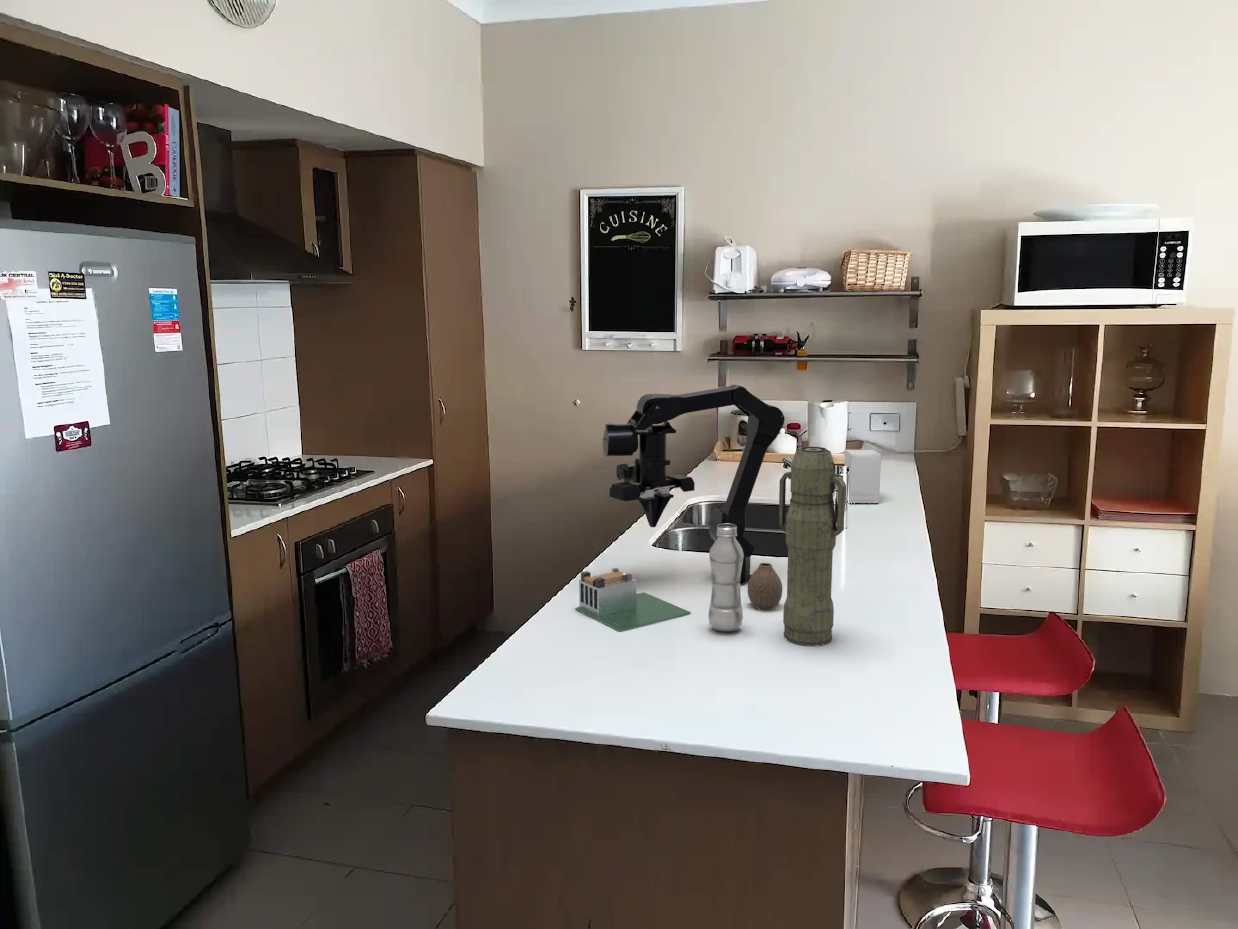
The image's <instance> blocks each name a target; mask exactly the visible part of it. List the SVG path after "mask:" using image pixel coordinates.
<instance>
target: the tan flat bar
mask: <svg viewBox="0 0 1238 929" xmlns="http://www.w3.org/2000/svg"><path fill="white" fill-rule="evenodd" d="M626 574H627V573H625V572H622V571H620V570H619V571H616V572H608V573H604V574H599V575H594V576H591V577H589V576H586V577H584V579H585V583H587V584H589V585H591V586H595V578H600V577H602V578H604V579H605V583H609V582H614V581H618V580H622V579H626Z"/></svg>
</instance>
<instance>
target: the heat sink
mask: <svg viewBox="0 0 1238 929" xmlns="http://www.w3.org/2000/svg"><path fill="white" fill-rule="evenodd" d="M619 569H620V568H618V567H614V568H612V572H616V571H620V570H619ZM612 572H611V573H612ZM625 574H626V579H622V580H618V581H614V582H609V583H605V579H604V578H602V577H600V578H595V586H591V585H589V584H587V583H585V579H584V577H586V576H589V577H592V576H591V572H590V571H587V570H586V571H581V572H580V579H578V590H579V592H578V595H579V596H578V599H579V602H578V603H579V606H578V607H575V611H577V612H579V613H581V614H583V615H584V616H587V617H589V618H591V619H593V620H595V619H596V620H595V621H597V620H598V621H597V622H599V623H601V624H603V625H605V626H606V627H609V626H610V627H609V628H611V629H612V630H615V631H616V632H619V633H622V632H625V631H629V630H634V629H637V628H640V627H641V628H642V627H645V626H649V625H652V624H656V623H661V622H665V621H668V620H672V619H676V618H681V617H684V616H689V615H691V613H692V612H691V611H689V610H686V609H685V608H681V607H679V606H678V605H675V604H673V603H670V602H668V601H665V600H663V599H661V598H659V597H656V596H654V595H651V594H649V593H647V592H644V591H643V592H639V593H637V579H634V578H633V573H630V572H629V573H625Z"/></svg>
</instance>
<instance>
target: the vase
mask: <svg viewBox="0 0 1238 929" xmlns="http://www.w3.org/2000/svg"><path fill="white" fill-rule="evenodd" d="M751 575H752V576H751V577H750V579H749V580H748V581H747V582H748V583H747V596H748V599H749V602H751V604H752V605H753V607H754V608H756V607H757V608H756V609H759V608H760V610H772V608H773V609H774V608H776V607H777V606H778V604H780V602H781V599H782V596H783V584H782V583H783V582H782V580H781V577H780V576H779V575H778V573H777V572H776V571H775V569H774V567H773V565H772V564H771V563H769V562H761V563H759V565H758V567H757V568H756V569H755V570H754V572H753V573H752V574H751Z"/></svg>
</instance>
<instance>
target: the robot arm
mask: <svg viewBox="0 0 1238 929" xmlns="http://www.w3.org/2000/svg"><path fill="white" fill-rule="evenodd" d="M729 406H730V407H731V406H734V407H736V408H737V409H738V410H739V411H740V412H741V413H742V414H744V415H745V416H746V417H747V422H746V430H745V431H746V443H745V445H744V448H743V451H742V455H741V457H740V460H739V463H738V466H737V469H736V472H735V475H734V477H733V479H732V480H733V481H732V482H731V483H732V484H731V486H730V488H729V492H728V495H727V497H726V501H725V502H724V504H723V505H722V507H721V508H720V509H718V508H717V507H714V508H713V509H712V514H711V518H710V520H709V521H708V523H707V525H708V526H709V529H708V534H709V535H710V538H711V539H712V540H713V541H714V542H715V541H716V540H717V539H718V536H717V535H716V533H717V525H719V524H734V525H736V527H737V536H736V537H735V538H736V540H737V541H738V543H739V544H740V546H741V548H742V550H743V554H744V556H743V564H742V570H741V581H740V585H745V584H746V583H747V582H749V579H750V577H751V576H752V574H751V557H752V554H753V553H754V549H755V547H754V546H753V545H752V544H751V542H749V541H748V540H747V539H746V538H745V531H746V527H747V525H746V522H747V521H746V517H747V516H746V510H747V507H748V504H749V501H750V499H751V495H752V493H753V490H754V487H755V484H756V481H757V480H758V479H757V478H758V476H759V472H760V470H761V468H762V467H761V466H762V464H763V461H764V458H765V455H766V452H767V451H768V448H770V446H771V444H773V442H774V441H776V439H777V437H778V435H779V434H780V432H781V430H782V429H783V426H784V425H785V424H784V423H785V416H784V413H783V411H782V410H781V409H780V408H779V407H777V406H774V405H771V404H768V403H765V402H764V401H763V400H761V399H760V398H758V397H756V395H753V394H752V393H751V392H750V391H749V390H748V389H747V388H746V387H744V386H743V385H742V386H741V385H738V384H731V385H729V386H724V387H717V388H712V389H705V390H701V391H700V390H699V391H694V392H688V393H683V394H672V393H671V394H670V393H669V394H667V393H646V394H644V395H642V396H641V397H640V398H639V399H638V401H637V403H636V410H635V411H634V412H633V414H632V415H631V417H630V418H629V419H628V421H627V422H626V423H619V424H618V423H606V424H605V425H604V428H605V429H604V431H603V437H602V450H603V454H604V456H605V457H606V458H607V457H609V458H610V457H627V456H628V457H629V456H630V457H631V456H632V457H633V455H634V453H637V451H639V452H638V455H639V457H638V458H635V460H634V465H632V466H629V465H628V463H622V464H618V465H616V469H615V470H616V472H615V473H616V479H617V480H619V481H621V480H623V482H616V483H612V484H611V485H610V486H609V497H610V498H613V499H616V500H619V501H623V502H631V501H636V500H637V501H638V502H639V503H640V505H641V507H642V508H643V511H644V514H645V517H646V520H647V522H648V525H649V527H651V528H656V527H657V525H658V523H659V520H660V518H662V515H663V512H664V511H665V509H666V507H667V505H668V504H669V502H670V501H671V499H673V498H674V497H675V496H674V494H672V493H671V492H670V491H671V490H670V489H677V488H678V489H680V490H681V491H682V492H683V493H687V492H692V491H693V492H694V491H695V488H696V487H695V486H696V485H695V483H696V482H695V481H694V479H693V477H692V476H688V475H684V474H680V473H678V474H670V475H667V466H671V459H667V434H669V435H670V434H676V433H677V430H676V429H675V428H674V427H673V426H672V425H671V423H670V422H669V421H673V420H674V419H676V418H678V417H680V416H681V415H685V414H688V413H695V412H700V411H706V410H712V409H719V408H724V407H729Z"/></svg>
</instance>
